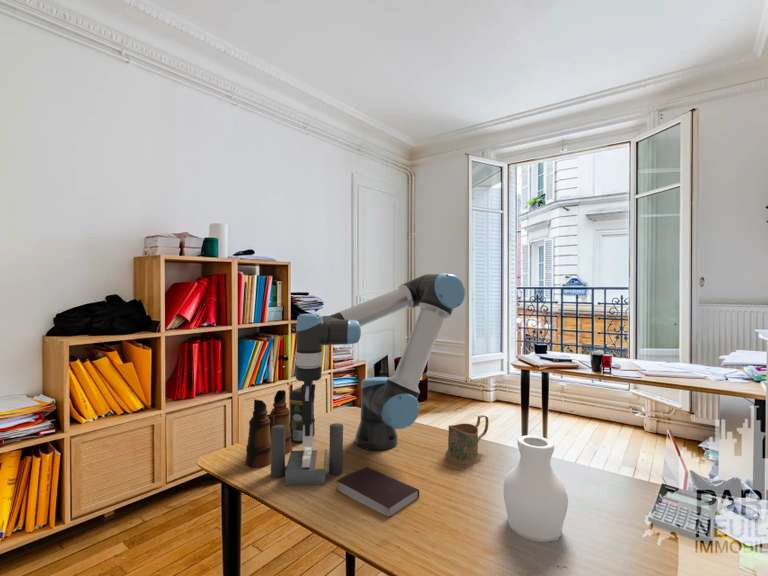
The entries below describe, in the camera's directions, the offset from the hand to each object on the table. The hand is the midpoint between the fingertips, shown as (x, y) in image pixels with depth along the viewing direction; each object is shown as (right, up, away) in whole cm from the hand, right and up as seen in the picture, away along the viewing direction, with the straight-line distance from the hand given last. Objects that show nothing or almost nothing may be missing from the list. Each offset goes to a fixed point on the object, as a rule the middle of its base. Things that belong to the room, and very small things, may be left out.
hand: (307, 445), depth 117 cm
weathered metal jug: (+51, -9, +15) cm, 54 cm away
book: (+21, -10, -11) cm, 25 cm away
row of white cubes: (0, -4, 0) cm, 4 cm away
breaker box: (0, -8, 0) cm, 8 cm away
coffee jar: (-7, -9, +27) cm, 30 cm away
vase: (+58, -10, -24) cm, 64 cm away
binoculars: (-15, -8, +11) cm, 20 cm away
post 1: (-9, -8, -1) cm, 12 cm away
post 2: (+8, -9, +1) cm, 12 cm away
